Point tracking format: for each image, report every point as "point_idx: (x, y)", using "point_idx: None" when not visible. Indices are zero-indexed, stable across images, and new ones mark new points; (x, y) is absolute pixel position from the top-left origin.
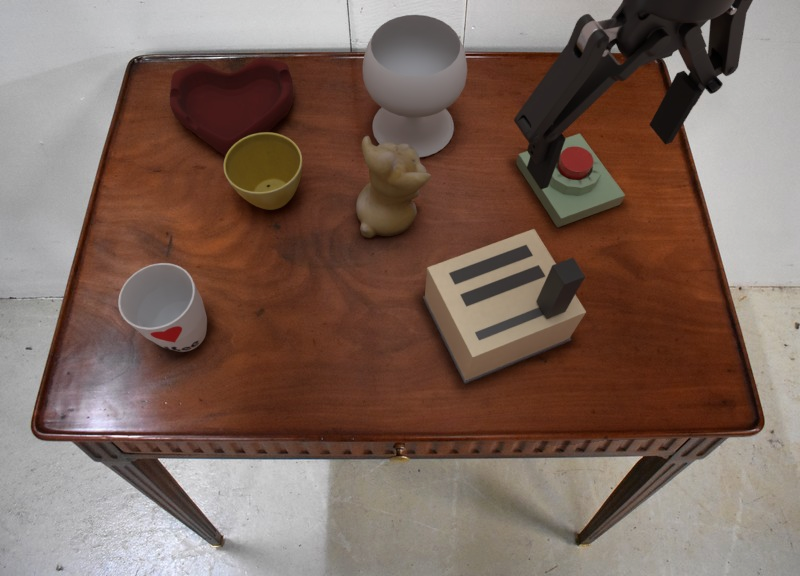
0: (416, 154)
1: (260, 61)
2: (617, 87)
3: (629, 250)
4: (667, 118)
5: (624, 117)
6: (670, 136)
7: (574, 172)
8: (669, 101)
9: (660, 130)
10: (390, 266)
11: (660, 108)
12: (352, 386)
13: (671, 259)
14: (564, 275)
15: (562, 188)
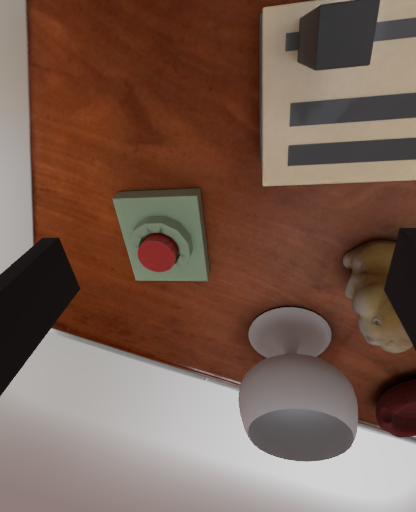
0: (366, 328)
1: (401, 434)
2: (80, 307)
3: (128, 130)
4: (37, 297)
5: (83, 279)
6: (42, 252)
7: (165, 243)
8: (20, 342)
9: (61, 272)
10: (413, 206)
11: (48, 323)
12: None
13: (81, 99)
14: (363, 25)
15: (181, 229)
